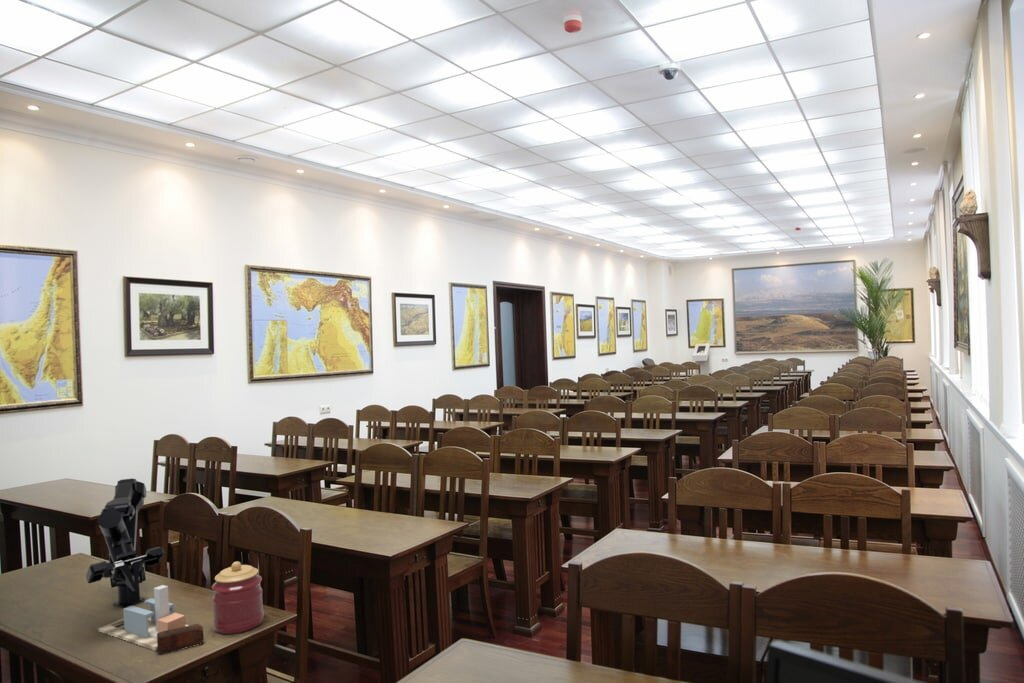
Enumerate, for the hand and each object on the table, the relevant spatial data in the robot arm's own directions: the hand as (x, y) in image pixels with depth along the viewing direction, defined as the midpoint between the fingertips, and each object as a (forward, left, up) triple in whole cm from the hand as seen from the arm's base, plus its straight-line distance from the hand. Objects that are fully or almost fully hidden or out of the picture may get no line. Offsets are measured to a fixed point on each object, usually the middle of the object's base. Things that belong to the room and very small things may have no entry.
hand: (135, 590), depth 181 cm
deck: (+2, +1, -12) cm, 12 cm away
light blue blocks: (+4, +1, -12) cm, 12 cm away
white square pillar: (+13, +1, -11) cm, 17 cm away
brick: (+20, 0, -12) cm, 23 cm away
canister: (+23, +15, -12) cm, 30 cm away
